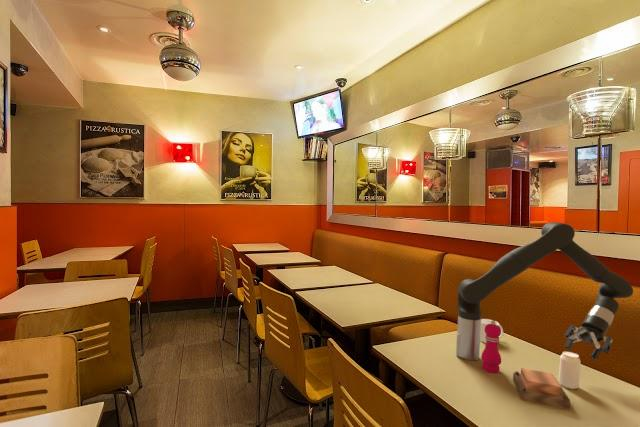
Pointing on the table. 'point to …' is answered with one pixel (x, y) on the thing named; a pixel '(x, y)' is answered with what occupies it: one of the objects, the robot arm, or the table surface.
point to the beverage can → (569, 370)
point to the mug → (482, 332)
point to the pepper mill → (491, 349)
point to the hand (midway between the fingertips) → (579, 353)
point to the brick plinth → (540, 395)
